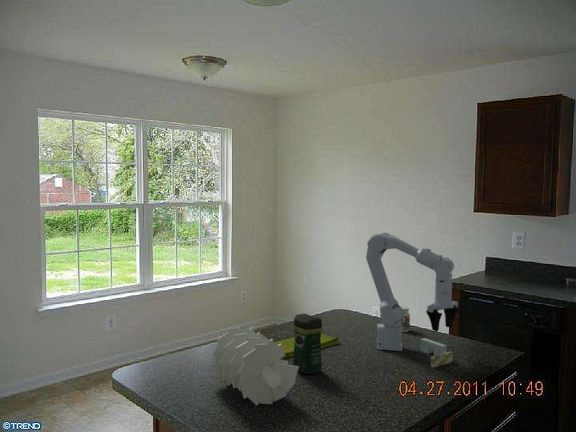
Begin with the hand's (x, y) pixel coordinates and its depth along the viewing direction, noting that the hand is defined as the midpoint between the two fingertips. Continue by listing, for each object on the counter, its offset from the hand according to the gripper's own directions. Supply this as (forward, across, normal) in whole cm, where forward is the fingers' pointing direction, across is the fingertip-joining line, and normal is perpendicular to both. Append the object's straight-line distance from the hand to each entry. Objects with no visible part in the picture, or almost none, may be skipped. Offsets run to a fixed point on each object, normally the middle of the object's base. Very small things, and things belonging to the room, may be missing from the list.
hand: (442, 328), depth 174 cm
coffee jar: (+11, -49, +16) cm, 52 cm away
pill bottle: (+11, +13, +30) cm, 35 cm away
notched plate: (+10, 0, +4) cm, 11 cm away
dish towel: (+11, -40, +37) cm, 56 cm away
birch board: (+10, -6, -5) cm, 13 cm away
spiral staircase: (+11, -73, +11) cm, 74 cm away
